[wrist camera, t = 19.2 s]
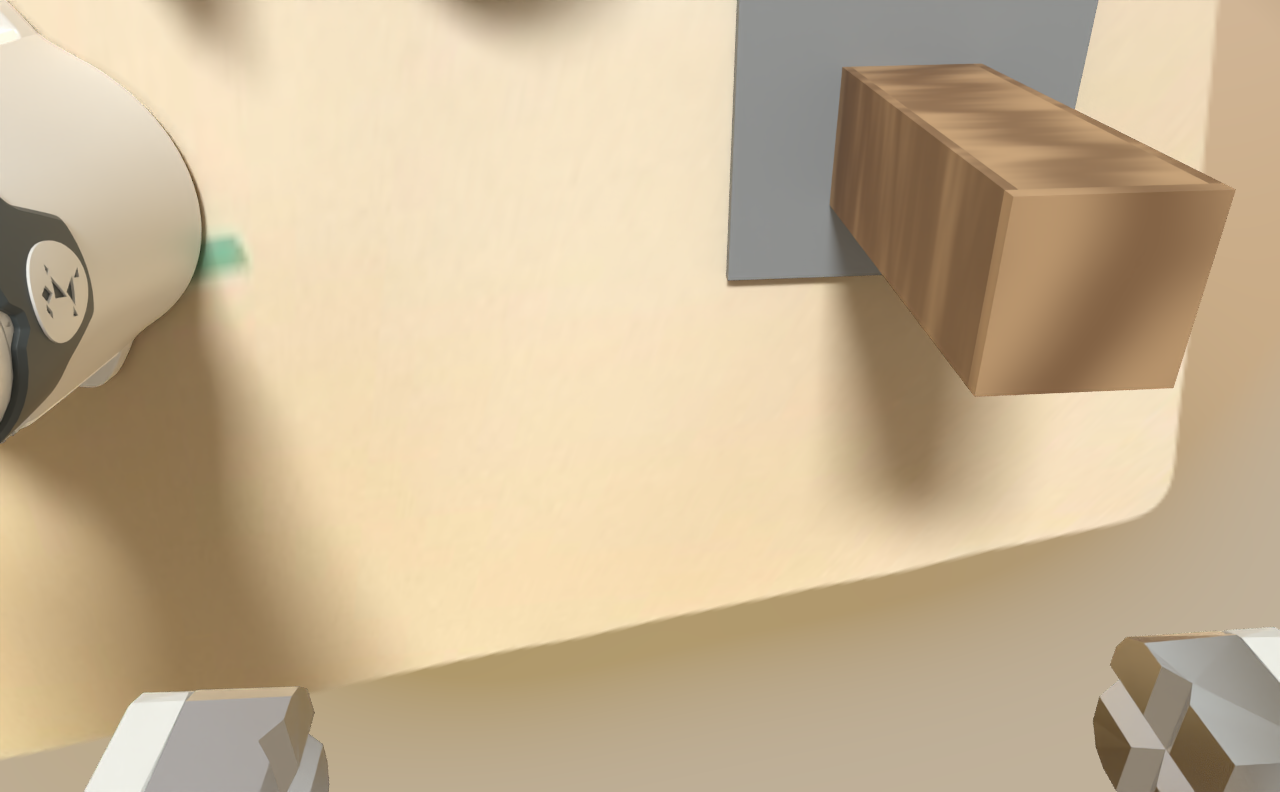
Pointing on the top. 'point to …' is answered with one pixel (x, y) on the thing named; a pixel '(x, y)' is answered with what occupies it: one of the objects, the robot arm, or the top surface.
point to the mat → (809, 100)
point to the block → (1024, 229)
